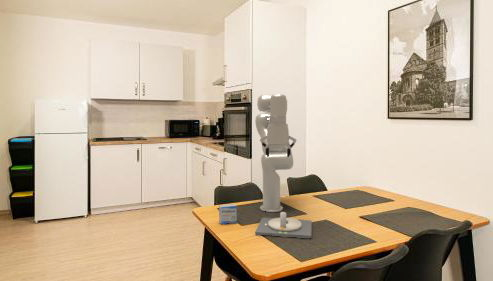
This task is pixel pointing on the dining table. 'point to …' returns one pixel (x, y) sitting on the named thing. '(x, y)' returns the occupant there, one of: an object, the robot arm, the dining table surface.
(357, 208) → the dining table surface
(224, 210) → the medicine box
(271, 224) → the dial
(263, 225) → the dial board
